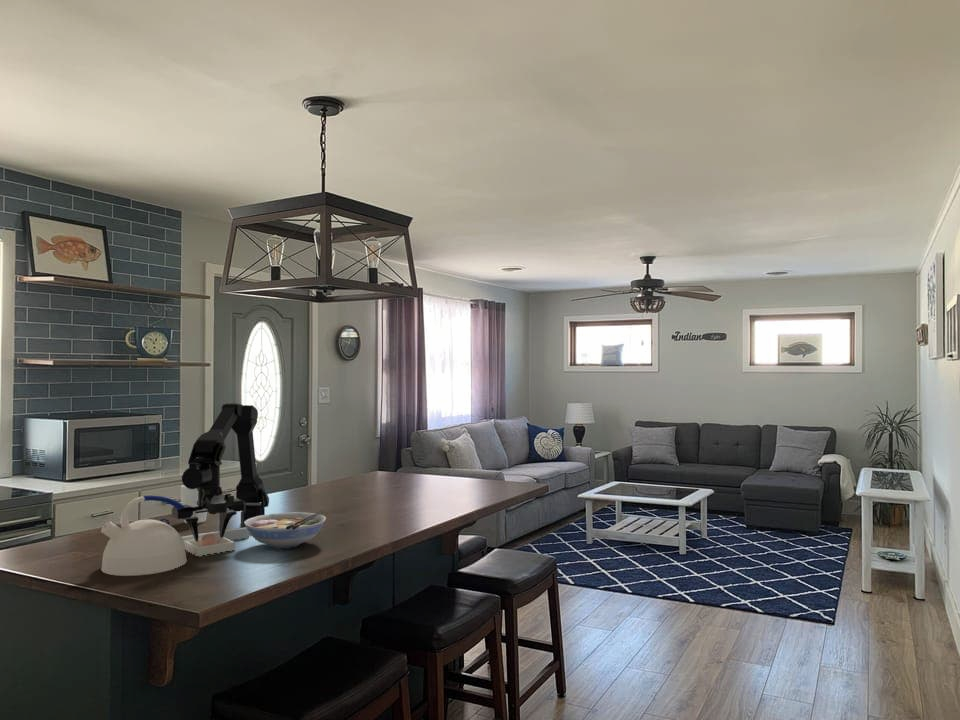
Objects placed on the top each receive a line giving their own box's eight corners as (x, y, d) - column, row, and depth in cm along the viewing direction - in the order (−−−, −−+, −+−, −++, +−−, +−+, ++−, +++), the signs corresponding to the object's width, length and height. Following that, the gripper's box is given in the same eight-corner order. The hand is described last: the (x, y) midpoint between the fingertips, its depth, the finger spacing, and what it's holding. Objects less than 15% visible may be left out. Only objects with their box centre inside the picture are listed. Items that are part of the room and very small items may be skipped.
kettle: (88, 566, 195) (88, 496, 195) (168, 552, 209) (168, 486, 209) (116, 581, 180) (116, 506, 180) (200, 565, 195) (200, 495, 195)
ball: (213, 544, 213) (212, 530, 213) (219, 547, 210) (217, 533, 210) (199, 548, 211) (198, 534, 210) (204, 551, 208) (203, 536, 207)
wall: (247, 537, 226) (247, 527, 226) (248, 537, 225) (248, 527, 225) (178, 547, 213) (178, 537, 213) (180, 548, 213) (180, 537, 213)
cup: (174, 523, 247) (174, 486, 248) (196, 518, 255) (196, 482, 256) (193, 525, 243) (193, 488, 243) (215, 520, 251) (215, 484, 251)
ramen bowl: (267, 534, 229) (266, 507, 229) (339, 537, 226) (339, 509, 226) (226, 555, 205) (226, 525, 205) (306, 558, 201) (306, 527, 201)
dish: (220, 543, 218) (220, 535, 218) (234, 550, 210) (234, 541, 210) (183, 549, 211) (183, 541, 211) (196, 556, 203) (196, 547, 203)
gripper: (184, 490, 198) (184, 550, 198) (253, 483, 210) (253, 539, 210) (170, 485, 207) (171, 542, 207) (237, 478, 219) (237, 532, 219)
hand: (209, 539), depth 210 cm, fingers open, 7 cm apart
